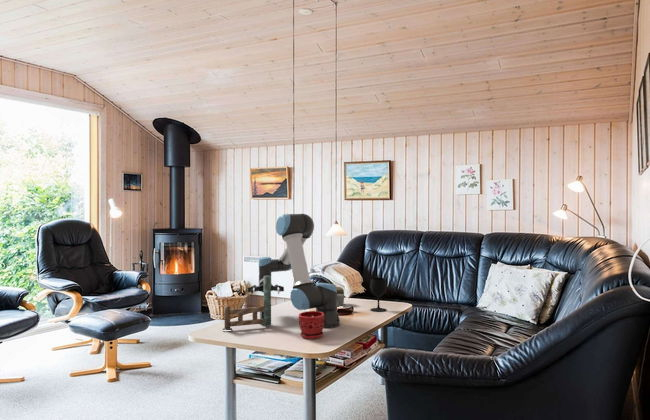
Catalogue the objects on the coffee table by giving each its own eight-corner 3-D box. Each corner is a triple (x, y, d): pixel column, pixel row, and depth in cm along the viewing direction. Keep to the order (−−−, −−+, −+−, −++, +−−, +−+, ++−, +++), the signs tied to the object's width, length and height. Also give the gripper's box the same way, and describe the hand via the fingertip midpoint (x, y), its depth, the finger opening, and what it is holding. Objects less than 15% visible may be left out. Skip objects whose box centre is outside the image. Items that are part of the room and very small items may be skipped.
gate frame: (269, 324, 289) (269, 310, 289) (225, 332, 273) (225, 317, 273) (265, 323, 293) (264, 309, 293) (221, 330, 277) (220, 315, 277)
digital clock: (344, 309, 329) (344, 292, 329) (343, 312, 320) (343, 295, 320) (319, 309, 330) (318, 292, 330) (317, 312, 321) (317, 295, 321)
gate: (225, 329, 274) (224, 279, 273) (223, 327, 277) (223, 278, 277) (271, 324, 283) (271, 276, 282) (270, 323, 287) (269, 275, 286)
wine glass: (389, 309, 327) (389, 278, 327) (382, 312, 319) (382, 280, 318) (374, 307, 333) (374, 277, 333) (367, 310, 324) (367, 279, 324)
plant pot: (299, 333, 269) (299, 310, 269) (324, 333, 269) (324, 310, 268) (297, 340, 256) (297, 316, 256) (324, 340, 256) (323, 316, 255)
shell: (344, 306, 339) (344, 288, 339) (327, 306, 339) (327, 288, 339) (344, 303, 350) (343, 285, 349) (327, 303, 350) (327, 285, 350)
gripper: (286, 291, 307) (288, 298, 286) (244, 292, 304) (243, 299, 283) (286, 278, 307) (288, 284, 286) (244, 279, 304) (243, 285, 283)
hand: (266, 291), depth 284 cm, fingers open, 13 cm apart
